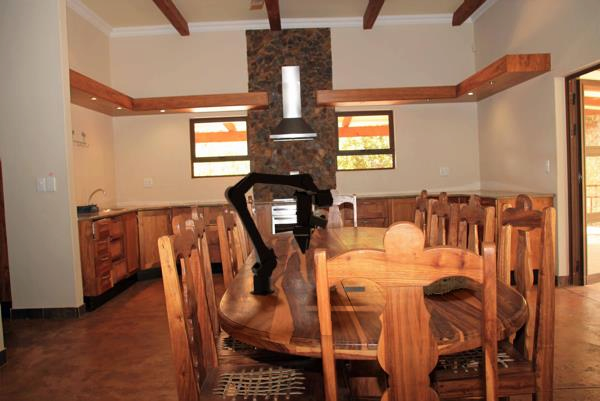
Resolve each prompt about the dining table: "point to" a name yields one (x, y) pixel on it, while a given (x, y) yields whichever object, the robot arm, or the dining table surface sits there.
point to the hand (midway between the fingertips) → (305, 251)
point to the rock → (446, 285)
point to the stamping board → (354, 289)
